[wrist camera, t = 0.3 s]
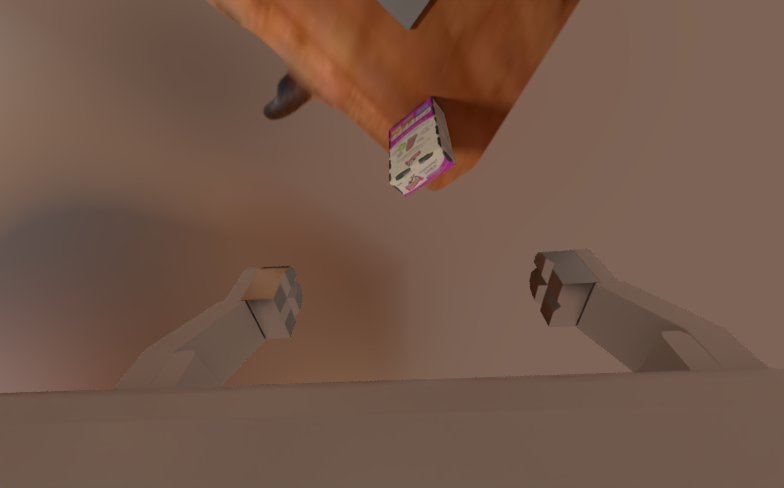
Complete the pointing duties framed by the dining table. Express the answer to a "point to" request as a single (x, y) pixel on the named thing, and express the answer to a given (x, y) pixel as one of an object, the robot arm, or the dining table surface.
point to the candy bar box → (419, 148)
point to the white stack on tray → (404, 10)
